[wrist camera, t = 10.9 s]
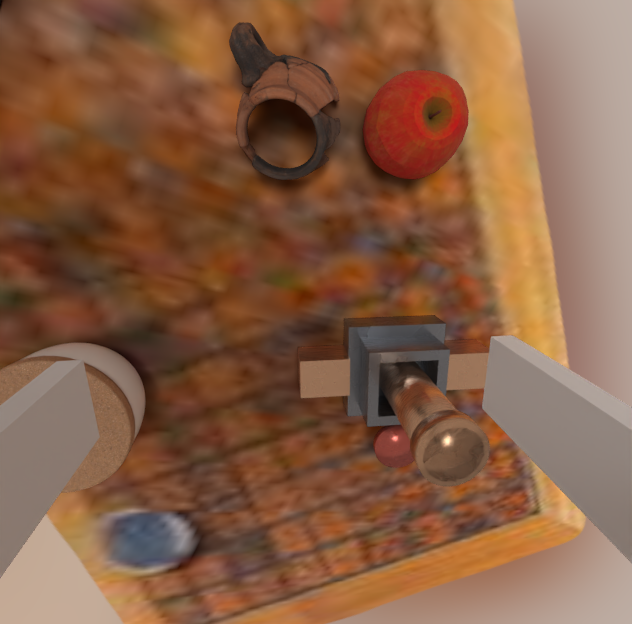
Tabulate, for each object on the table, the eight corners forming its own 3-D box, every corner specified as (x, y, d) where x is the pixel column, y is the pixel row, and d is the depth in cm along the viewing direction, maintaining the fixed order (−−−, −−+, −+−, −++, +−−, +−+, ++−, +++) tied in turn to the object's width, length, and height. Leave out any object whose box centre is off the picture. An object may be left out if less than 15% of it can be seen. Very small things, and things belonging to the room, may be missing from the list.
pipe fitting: (370, 394, 41) (415, 488, 27) (371, 348, 39) (419, 424, 26) (418, 392, 41) (485, 483, 28) (421, 346, 40) (493, 419, 26)
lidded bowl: (74, 449, 43) (7, 531, 32) (10, 350, 39) (-89, 405, 28) (181, 410, 43) (149, 480, 32) (127, 307, 39) (72, 347, 28)
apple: (429, 76, 36) (490, 25, 25) (446, 166, 38) (509, 154, 28) (344, 103, 36) (371, 64, 25) (367, 192, 38) (400, 189, 28)
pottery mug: (363, 115, 37) (360, 150, 31) (288, 170, 41) (273, 209, 35) (280, -18, 31) (257, -6, 25) (203, 64, 35) (168, 91, 29)
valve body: (300, 443, 45) (304, 485, 38) (297, 320, 41) (301, 343, 34) (465, 432, 47) (496, 470, 40) (478, 313, 43) (515, 334, 36)
